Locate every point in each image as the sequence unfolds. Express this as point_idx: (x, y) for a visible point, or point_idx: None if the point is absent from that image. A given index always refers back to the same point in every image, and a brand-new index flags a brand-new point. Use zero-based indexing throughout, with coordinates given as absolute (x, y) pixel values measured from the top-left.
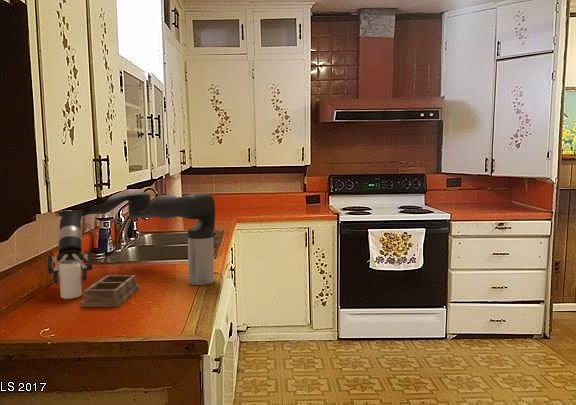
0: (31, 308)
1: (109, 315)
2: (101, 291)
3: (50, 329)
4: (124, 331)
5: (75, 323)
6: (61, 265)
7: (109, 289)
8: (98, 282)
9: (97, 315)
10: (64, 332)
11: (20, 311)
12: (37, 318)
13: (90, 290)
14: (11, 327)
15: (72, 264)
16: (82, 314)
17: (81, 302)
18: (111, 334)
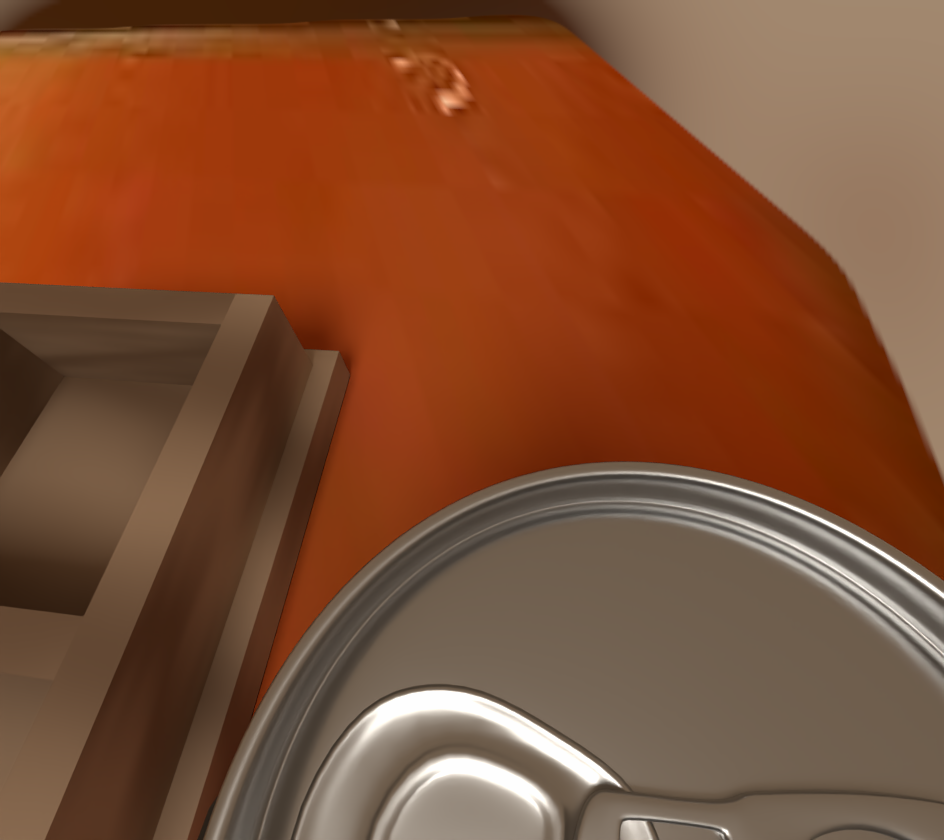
0: (747, 378)
1: (160, 223)
2: (111, 295)
3: (432, 99)
4: (123, 81)
5: (333, 145)
6: (849, 576)
7: (23, 311)
8: (81, 657)
9: (227, 226)
10: (360, 78)
11: (785, 321)
12: (570, 205)
13: (208, 297)
14: (637, 118)
15: (428, 547)
16: (316, 244)
17: (334, 351)
18: (175, 64)
